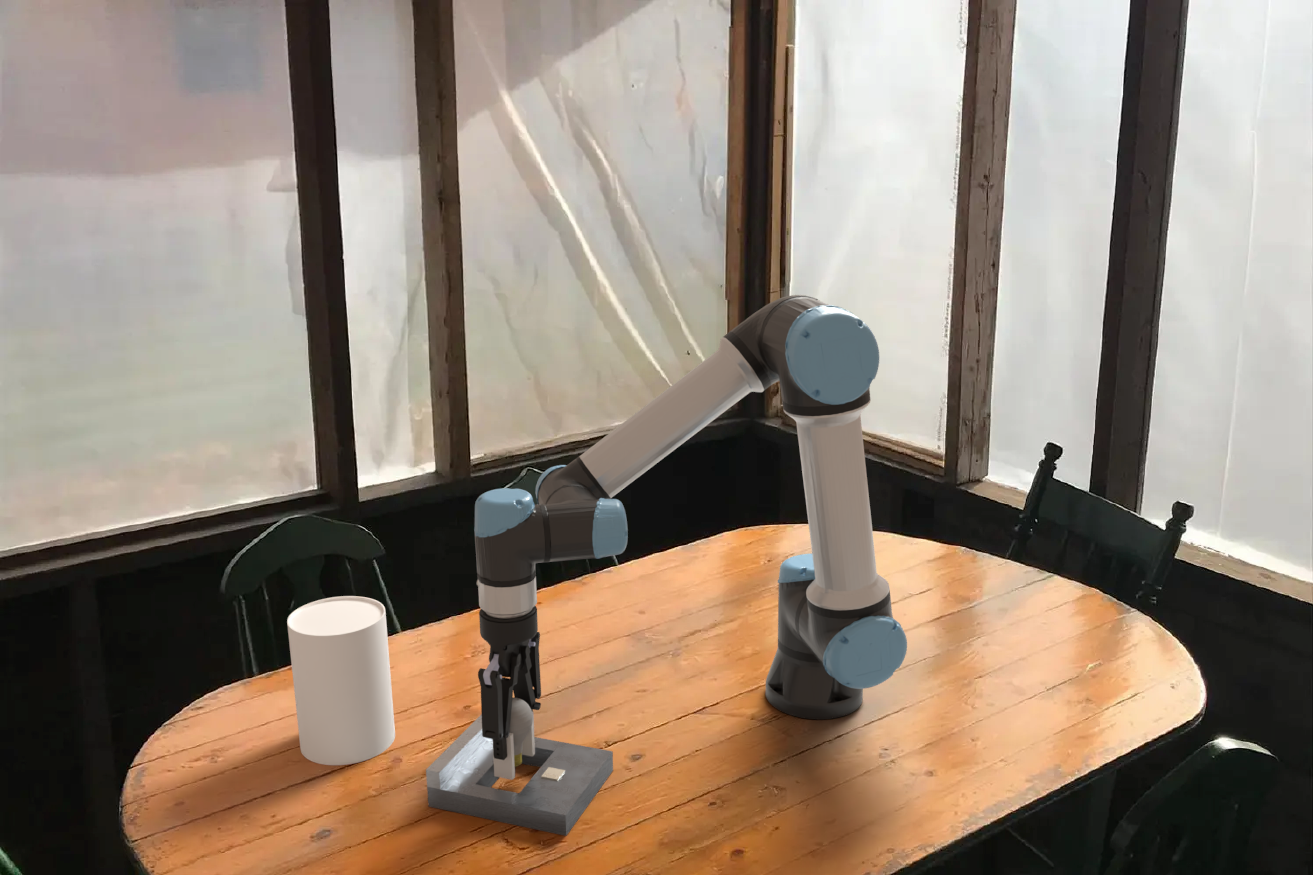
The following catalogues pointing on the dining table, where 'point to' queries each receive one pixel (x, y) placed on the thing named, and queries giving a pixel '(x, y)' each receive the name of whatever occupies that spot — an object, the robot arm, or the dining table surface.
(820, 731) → the dining table surface
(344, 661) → the canister
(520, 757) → the light bulb
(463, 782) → the rail plate
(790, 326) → the robot arm
